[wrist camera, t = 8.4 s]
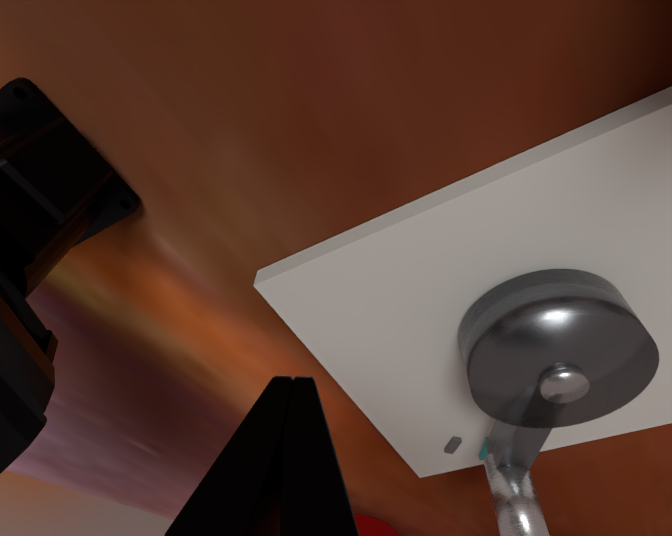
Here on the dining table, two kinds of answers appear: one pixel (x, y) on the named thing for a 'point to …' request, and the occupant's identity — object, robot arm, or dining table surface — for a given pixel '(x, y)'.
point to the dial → (548, 373)
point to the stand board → (488, 280)
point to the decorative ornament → (373, 526)
